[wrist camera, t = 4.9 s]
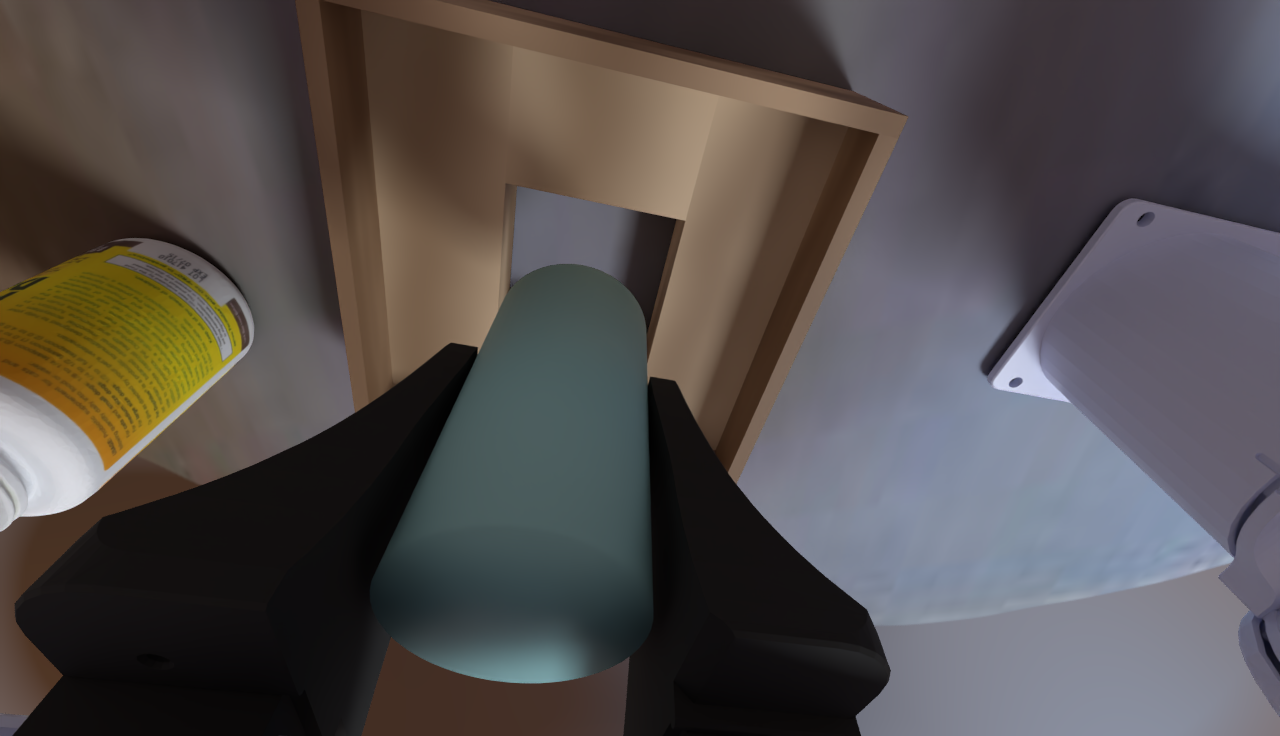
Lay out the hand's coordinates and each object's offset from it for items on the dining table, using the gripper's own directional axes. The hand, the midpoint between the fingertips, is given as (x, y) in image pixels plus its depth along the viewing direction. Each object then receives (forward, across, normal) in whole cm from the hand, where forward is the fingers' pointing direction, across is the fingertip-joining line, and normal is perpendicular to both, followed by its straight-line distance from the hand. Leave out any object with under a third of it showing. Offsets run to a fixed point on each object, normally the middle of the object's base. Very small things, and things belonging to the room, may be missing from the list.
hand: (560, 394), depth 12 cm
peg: (+2, 0, 0) cm, 2 cm away
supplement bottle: (+8, +15, +5) cm, 18 cm away
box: (+8, 0, 0) cm, 8 cm away
